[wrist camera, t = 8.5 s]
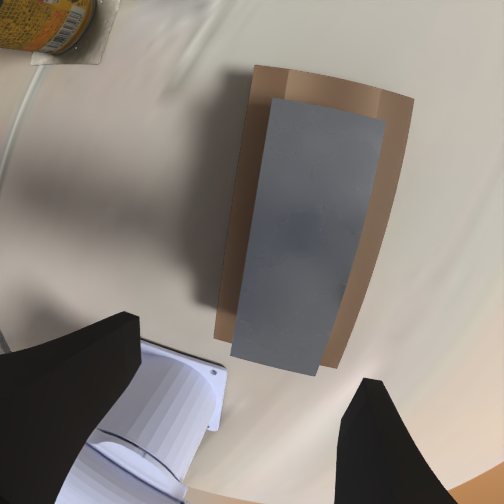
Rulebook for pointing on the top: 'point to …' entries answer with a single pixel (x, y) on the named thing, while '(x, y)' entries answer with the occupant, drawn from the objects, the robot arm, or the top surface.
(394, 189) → the brown slotted tray
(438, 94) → the top surface
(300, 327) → the tall grey block
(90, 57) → the condiment
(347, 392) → the top surface
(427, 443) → the top surface
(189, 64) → the top surface
